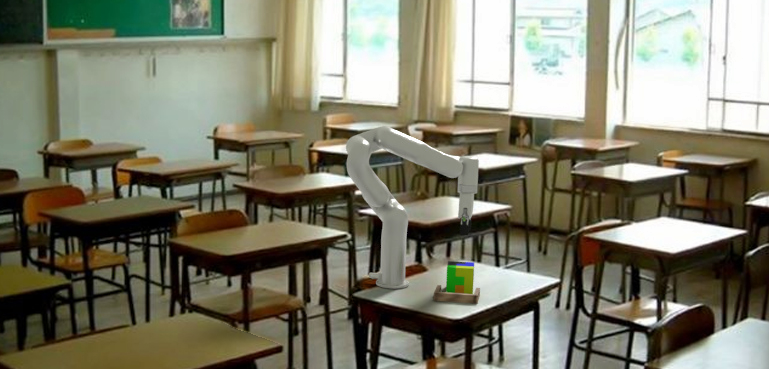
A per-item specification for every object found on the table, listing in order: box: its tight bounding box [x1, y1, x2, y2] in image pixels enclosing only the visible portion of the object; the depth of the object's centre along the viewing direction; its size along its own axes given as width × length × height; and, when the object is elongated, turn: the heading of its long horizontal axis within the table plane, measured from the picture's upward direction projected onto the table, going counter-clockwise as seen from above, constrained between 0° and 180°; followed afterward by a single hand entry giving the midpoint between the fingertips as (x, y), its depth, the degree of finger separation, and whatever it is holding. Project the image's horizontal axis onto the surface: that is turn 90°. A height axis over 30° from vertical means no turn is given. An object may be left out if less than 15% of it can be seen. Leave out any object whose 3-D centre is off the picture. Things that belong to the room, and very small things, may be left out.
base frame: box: [433, 284, 481, 304], centre depth 393 cm, size 16×11×3 cm
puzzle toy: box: [445, 260, 475, 294], centre depth 404 cm, size 10×10×10 cm
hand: (465, 232), depth 412 cm, fingers open, 9 cm apart
